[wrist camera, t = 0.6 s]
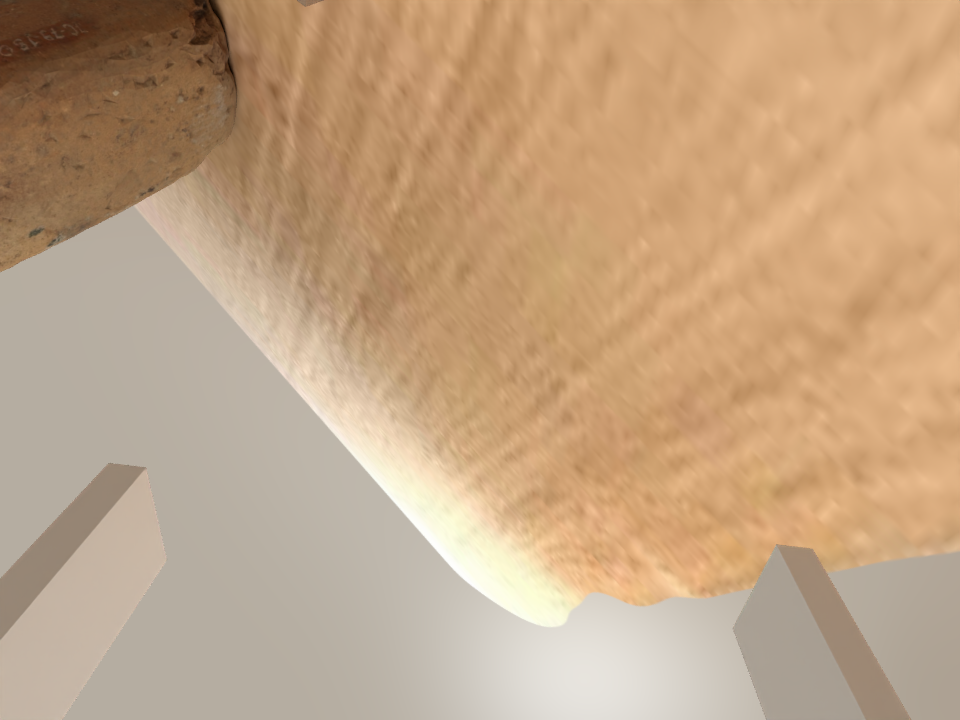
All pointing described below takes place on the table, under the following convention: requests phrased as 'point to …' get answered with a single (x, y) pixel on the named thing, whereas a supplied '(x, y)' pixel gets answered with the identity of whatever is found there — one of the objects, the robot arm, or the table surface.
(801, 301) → the table surface
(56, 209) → the block
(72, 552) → the robot arm
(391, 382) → the table surface
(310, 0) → the walnut board
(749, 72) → the table surface
